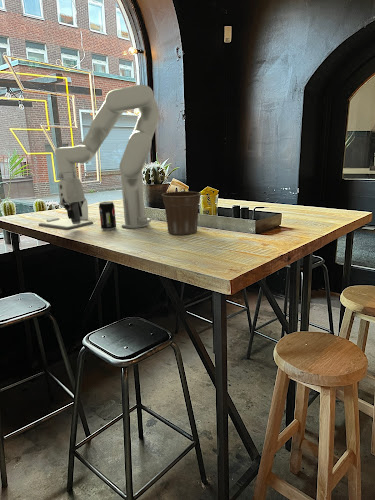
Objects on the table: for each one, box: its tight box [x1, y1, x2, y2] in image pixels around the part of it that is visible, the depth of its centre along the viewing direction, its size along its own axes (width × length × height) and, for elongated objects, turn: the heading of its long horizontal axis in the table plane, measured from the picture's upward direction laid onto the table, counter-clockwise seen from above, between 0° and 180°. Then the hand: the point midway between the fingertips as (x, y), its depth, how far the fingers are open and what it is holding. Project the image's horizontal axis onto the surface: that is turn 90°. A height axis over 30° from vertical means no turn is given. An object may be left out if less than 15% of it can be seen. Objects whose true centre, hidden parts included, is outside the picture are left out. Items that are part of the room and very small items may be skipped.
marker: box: [71, 202, 81, 224], centre depth 166 cm, size 4×4×12 cm
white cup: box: [80, 198, 89, 221], centre depth 192 cm, size 8×8×10 cm
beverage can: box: [98, 201, 117, 231], centre depth 165 cm, size 7×7×12 cm
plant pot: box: [161, 190, 202, 236], centre depth 153 cm, size 16×16×16 cm
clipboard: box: [38, 217, 94, 231], centre depth 180 cm, size 22×15×2 cm
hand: (75, 217), depth 167 cm, fingers closed on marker, 4 cm apart
